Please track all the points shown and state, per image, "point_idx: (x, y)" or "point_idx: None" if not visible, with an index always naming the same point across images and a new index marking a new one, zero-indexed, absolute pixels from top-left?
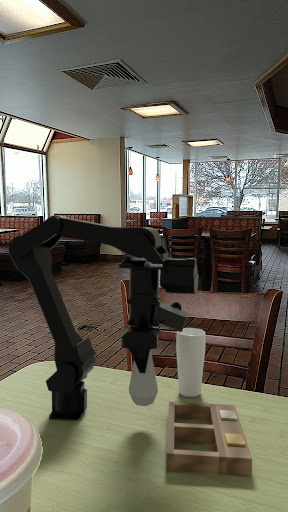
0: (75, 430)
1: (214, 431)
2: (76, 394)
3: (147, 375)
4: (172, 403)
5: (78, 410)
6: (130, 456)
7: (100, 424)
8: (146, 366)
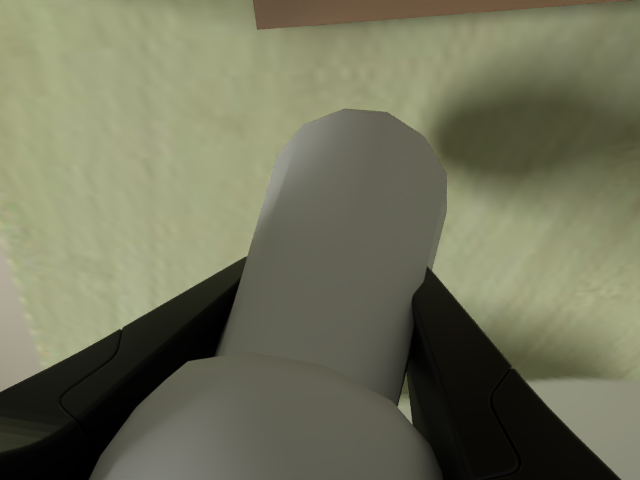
0: None
1: None
2: None
3: (426, 237)
4: (274, 3)
5: None
6: (610, 161)
7: None
8: (457, 302)
